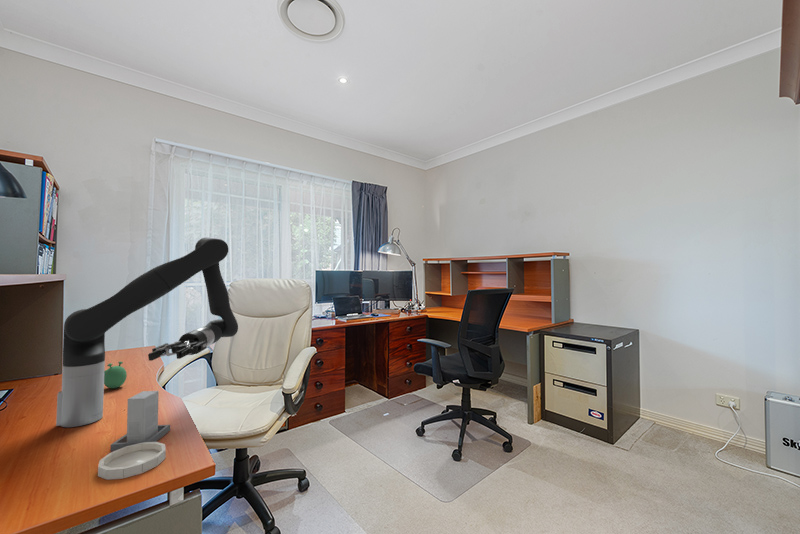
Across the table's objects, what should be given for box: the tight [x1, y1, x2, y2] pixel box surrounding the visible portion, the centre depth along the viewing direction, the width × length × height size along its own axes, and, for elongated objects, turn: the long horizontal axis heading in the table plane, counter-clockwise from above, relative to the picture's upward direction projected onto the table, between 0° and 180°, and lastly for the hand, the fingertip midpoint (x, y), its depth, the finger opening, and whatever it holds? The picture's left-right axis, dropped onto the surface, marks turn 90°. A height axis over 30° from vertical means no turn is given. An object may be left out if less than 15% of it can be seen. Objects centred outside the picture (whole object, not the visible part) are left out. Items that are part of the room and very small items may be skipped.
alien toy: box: [104, 360, 127, 390], centre depth 130 cm, size 7×8×10 cm
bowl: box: [97, 441, 167, 480], centre depth 77 cm, size 12×12×2 cm
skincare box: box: [126, 390, 160, 442], centre depth 88 cm, size 6×4×12 cm
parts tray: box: [110, 424, 171, 452], centre depth 88 cm, size 8×10×2 cm
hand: (163, 356), depth 99 cm, fingers open, 8 cm apart
